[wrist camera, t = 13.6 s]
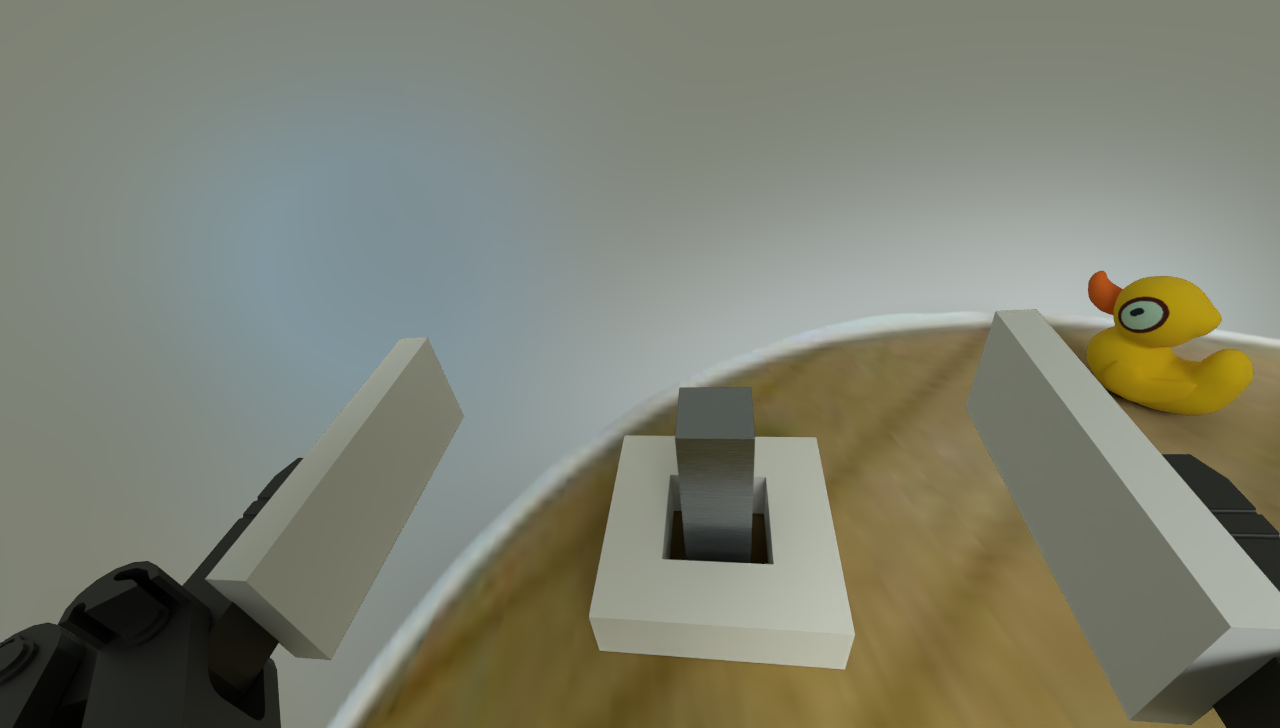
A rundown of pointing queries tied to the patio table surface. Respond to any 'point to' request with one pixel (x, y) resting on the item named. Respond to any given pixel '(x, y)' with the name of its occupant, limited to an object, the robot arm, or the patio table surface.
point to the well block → (723, 567)
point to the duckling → (1162, 347)
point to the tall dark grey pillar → (716, 472)
